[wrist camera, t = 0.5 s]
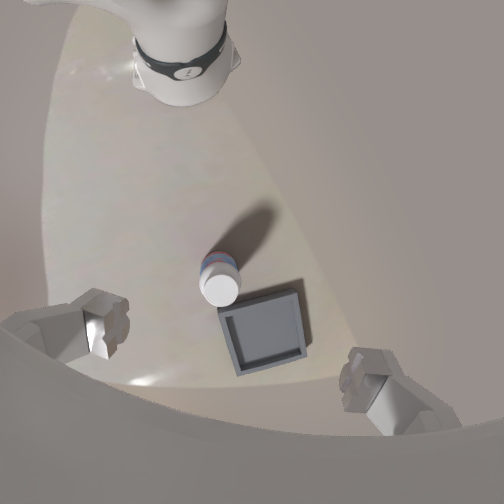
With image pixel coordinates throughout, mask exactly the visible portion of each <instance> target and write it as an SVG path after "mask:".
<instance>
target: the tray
mask: <svg viewBox="0 0 504 504" xmlns="http://www.w3.org/2000/svg"><path fill="white" fill-rule="evenodd" d="M217 311H218V316H219V320H220V323H221V326H222V330H223V333H224V336H225V339H226V343H227V346H228V349H229V352H230V355H231V358H232V362H233V365H234V368H235V371H236V374H237V376H241V375H245V374H249V373H253V372H257V371H261V370H264V369H268V368H272V367H275V366H279V365H282V364H285V363H289V362H292V361H295V360H299V359H302V358H305V357H307V351H306V344H305V338H304V332H303V325H302V319H301V313H300V307H299V301H298V295H297V292H296V291H295V290H294V289H293V288H291V289H288V290H284V291H281V292H277V293H273V294H270V295H266V296H262V297H258V298H255V299H251V300H247V301H243V302H239V303H235V304H231V305H228V306H224V307H219V308H217Z"/></svg>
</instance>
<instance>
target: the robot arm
mask: <svg viewBox="0 0 504 504" xmlns="http://www.w3.org/2000/svg"><path fill="white" fill-rule="evenodd" d="M22 1H24V2H26V3H29V4H32V5H35V6H43V5H50V4H61V3H62V4H80V5H86V6H91V7H95V8H98V9H101V10H104V11H107V12H109V13H111V14H114V15H116V16H117V17H119V18H121V19H122V20H124V21H125V22H126V23H127V25H128V26H129V27H130V29H131V31H132V32H133V45H135V46H136V50H134V51H133V57H134V58H135V62H134V70H133V80H132V82H133V86H134V87H135V88H137V89H140V90H143V91H147V92H149V93H151V94H152V95H153V96H154V97H155V98H157V99H158V100H160V101H161V102H163V103H166V104H169V105H173V106H190V105H195V104H198V103H201V102H203V101H206V100H207V99H209V98H211V97H212V96H214V95H215V94H216V93H217V92H218V91H219V90H220V89H221V88H222V86H223V84H224V83H225V81H226V79H227V77H228V75H229V73H230V72H232V71H233V70H234V69H236V68H237V67H238V66H239V65H240V63H241V62H240V61H241V58H240V56H239V54H238V52H237V50H236V49H235V47H234V43H233V42H232V41H231V39H230V37H229V36H228V34H227V25H226V21H225V15H226V9H227V2H228V0H22ZM138 76H139V77H138ZM128 311H129V302H128V300H127V299H126V298H123V297H120V296H117V295H114V294H111V293H108V292H105V291H102V290H99V289H96V288H92V289H90V290H89V291H87V292H86V293H84V294H83V295H82V296H80V297H79V298H77V299H76V300H75V301H73V302H72V303H70V304H67V303H65V304H59V305H54V306H48V307H43V308H37V309H32V310H26V311H20V312H15V313H14V314H12V315H11V316H9V317H8V318H6V319H5V320H3V321H2V322H1V323H0V504H504V418H500V419H496V420H492V421H488V422H485V423H480V424H475V425H471V426H466V427H462V425H461V423H460V421H459V419H458V417H457V416H456V413H455V411H454V410H453V408H452V407H451V406H449V405H448V404H446V403H445V402H444V401H442V400H440V399H439V398H438V397H437V396H435V395H434V394H432V393H431V392H429V391H428V390H427V389H425V388H424V387H422V386H421V385H420V384H418V383H417V382H416V381H414V380H413V379H411V378H410V377H408V376H405V375H404V373H403V371H402V369H401V367H400V365H399V363H398V361H397V359H396V358H395V355H394V353H393V352H392V351H391V350H386V349H370V348H360V347H353V348H352V349H351V350H350V352H349V355H348V358H349V362H348V363H347V364H345V365H344V366H343V368H342V371H341V374H340V379H339V387H340V390H341V391H342V392H343V393H344V396H343V398H342V401H343V407H344V411H345V412H353V413H366V415H367V416H368V417H369V418H370V420H371V421H372V422H373V423H374V424H375V425H376V427H377V428H378V429H379V430H380V431H381V432H382V433H383V435H384V436H365V437H363V436H362V437H358V436H357V437H355V436H352V437H351V436H325V435H311V434H299V433H291V432H282V431H274V430H267V429H261V428H255V427H250V426H244V425H239V424H233V423H229V422H224V421H219V420H215V419H210V418H207V417H202V416H199V415H195V414H191V413H187V412H184V411H180V410H176V409H173V408H170V407H166V406H164V405H161V404H158V403H154V402H151V401H148V400H145V399H143V398H140V397H137V396H135V395H132V394H129V393H127V392H124V391H122V390H119V389H116V388H114V387H112V386H109V385H107V384H105V383H102V382H100V381H98V380H95V379H93V378H91V377H89V376H87V375H85V374H82V373H80V372H78V371H76V370H74V369H72V368H70V367H68V366H66V365H64V364H65V363H68V362H70V361H73V360H75V359H77V358H80V357H82V356H84V355H87V354H89V352H90V353H92V354H95V355H98V356H100V357H103V358H105V359H108V360H109V358H110V357H111V356H112V355H113V354H114V353H115V351H116V350H117V345H118V344H121V343H123V342H124V341H125V339H126V338H127V335H128V333H129V328H130V320H129V318H128V316H127V315H126V313H127V312H128Z"/></svg>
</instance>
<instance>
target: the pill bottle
mask: <svg viewBox="0 0 504 504" xmlns="http://www.w3.org/2000/svg"><path fill="white" fill-rule="evenodd" d="M199 285H200V289H201V292H202V293H203V295H204V296H205V298H206V299H207V301H208V302H209V303H211V304H212V305H214V306H218V307H224V306H228V305H230V304H231V303H233V302H234V301H235V299H236V298H237V296H238V293H239V291H240V288H241V277H240V274H239V271H238V268H237V266H236V263H235V261H234V259H233V258H232V257H231V256H230V255H229V254H227V253H225V252H221V251H216V252H212V253H210V254H208V255H207V256H206V257H205V258H204V259H203V261H202V264H201V270H200V279H199Z"/></svg>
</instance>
